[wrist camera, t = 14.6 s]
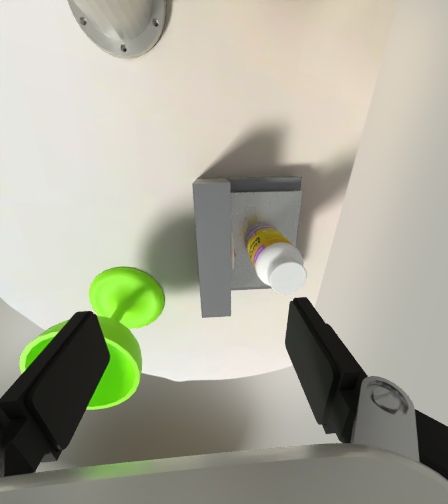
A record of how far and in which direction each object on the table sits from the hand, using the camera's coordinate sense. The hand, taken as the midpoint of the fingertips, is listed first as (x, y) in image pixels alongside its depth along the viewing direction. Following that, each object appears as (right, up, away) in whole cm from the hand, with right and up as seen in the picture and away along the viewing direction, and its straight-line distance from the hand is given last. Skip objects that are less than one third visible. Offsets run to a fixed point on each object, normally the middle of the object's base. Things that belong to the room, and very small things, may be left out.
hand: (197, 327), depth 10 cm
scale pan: (+8, +6, +28) cm, 30 cm away
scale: (+6, +7, +32) cm, 33 cm away
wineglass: (-20, -7, +36) cm, 42 cm away
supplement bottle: (+8, +5, +27) cm, 29 cm away
